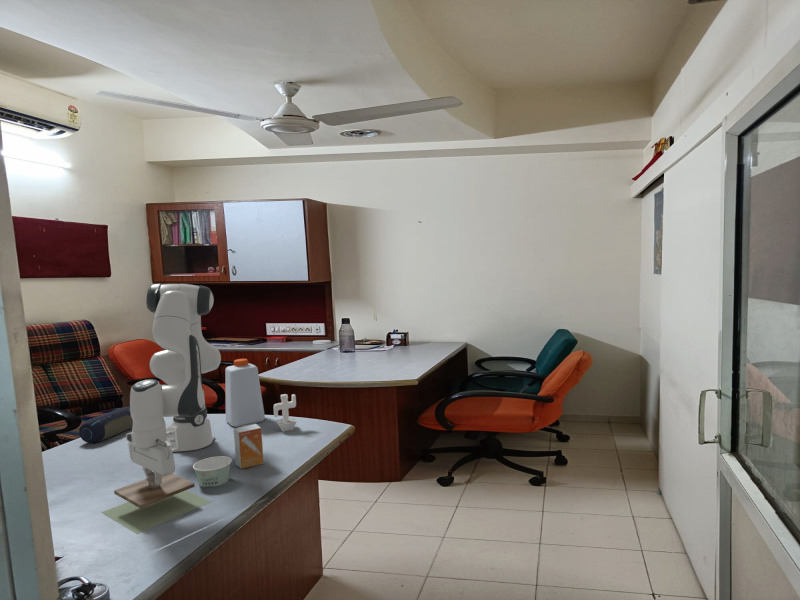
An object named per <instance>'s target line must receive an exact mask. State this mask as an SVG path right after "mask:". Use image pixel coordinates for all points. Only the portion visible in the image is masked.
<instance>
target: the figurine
mask: <svg viewBox="0 0 800 600" xmlns="http://www.w3.org/2000/svg"><path fill="white" fill-rule="evenodd" d="M288 399H289V396H288V394H286V393H284V394H280V400H281V402H278V403H275V404H273V416H274V417H275V418H277V417H278V416H279V411H282V412H281V413H282V414H281V415H282V418H281V419H276V420H275V422H276V424H277V425H278V427H279V429H280V430H281V432H283V433H284V432H290V431H293V430H294V428H295V427H296V424H297V420H296V419H295V418H294V417H289V416H290V415H289V414H290V413H289V409H293V408H296V407H297V395H296V394H294V393H293V394H291V401H289V400H288ZM289 430H290V431H289Z"/></svg>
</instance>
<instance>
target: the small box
mask: <svg viewBox="0 0 800 600" xmlns="http://www.w3.org/2000/svg"><path fill="white" fill-rule="evenodd" d="M262 435H263V434H262V427H260V426H259V424H258V423H255V424H251V425H246V426H242V427H233V438H234V453H235V464H236V466H238V467H239V469H241V470H243V469H246V468H251V467H255V466H258V465H263V464H264V462H265V461H264V448H263V436H262Z"/></svg>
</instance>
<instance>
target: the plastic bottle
mask: <svg viewBox="0 0 800 600" xmlns="http://www.w3.org/2000/svg"><path fill="white" fill-rule="evenodd" d="M258 369H259V368H258V367H257V366H256V365H255V364H252V363H249V359H247V358H237V359H235V360H233V365H229V366H226V368H225V370H224V371H225V422H226V423H228V425H230V426H231V427H233V428H239V427H243V426H247V425H253V424H259V423H261V422H263V421H264V420H265V409H264V403H263V397H262V388H261V384H260V377H259V370H258Z"/></svg>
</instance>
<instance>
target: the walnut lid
mask: <svg viewBox="0 0 800 600" xmlns="http://www.w3.org/2000/svg"><path fill="white" fill-rule="evenodd" d="M153 479H155V474H154V472H153V471H152V472H151V473H149V474H148V481H147V480H146V478H144V479H142V480H139V481H137V482H133V483H131V484H128V485H125V486H122V487H120V488H117V489H114V490H113V493H114V495H116V496H118V497H120V498H121V499H122V500H125V501H126V502H130V503H132V504H133V505H135V506H137V507H139V508H140V509H141V508H143V507H146V506H148V505H151V504H153V503H155V502H158V501H160V500H163V499H165V498H168V497H170V496H173V495H175V494H178V493H180V492H183V491H185V490H186V491H188V490H190V489H193V488H195V487H196V486H195V482H192V481H190V480H187V479H186V478H184V477H181V476H179V475H176V474H174V473H171V474H169V475H166V476H162V484H160V485H158V486H157V485H155V484H154V481H153Z"/></svg>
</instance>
